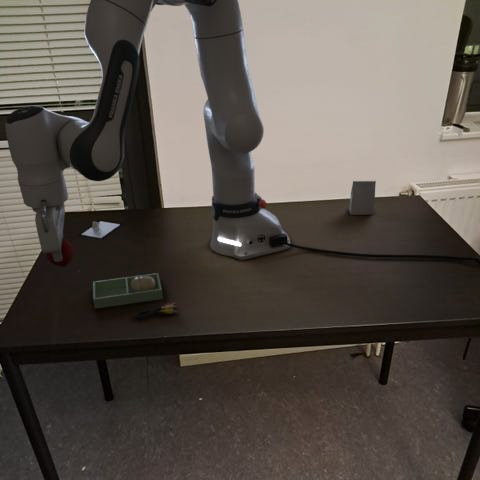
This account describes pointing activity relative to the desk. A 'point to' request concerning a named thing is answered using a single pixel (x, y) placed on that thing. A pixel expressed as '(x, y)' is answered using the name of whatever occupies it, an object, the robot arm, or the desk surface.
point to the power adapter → (100, 229)
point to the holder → (123, 292)
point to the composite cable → (158, 310)
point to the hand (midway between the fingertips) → (59, 252)
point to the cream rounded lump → (143, 284)
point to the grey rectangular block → (362, 198)
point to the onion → (66, 252)
